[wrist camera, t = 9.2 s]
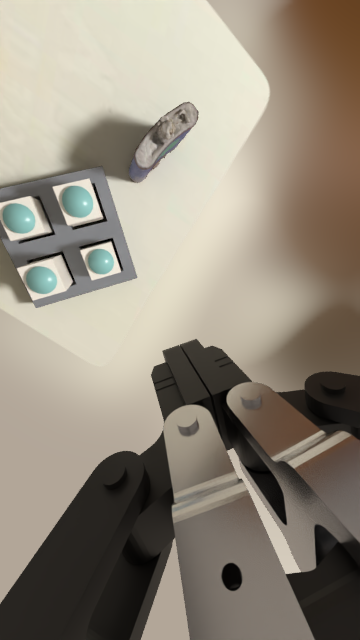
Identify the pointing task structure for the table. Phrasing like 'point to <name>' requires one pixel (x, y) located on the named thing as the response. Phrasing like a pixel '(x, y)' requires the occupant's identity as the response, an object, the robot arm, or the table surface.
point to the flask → (162, 140)
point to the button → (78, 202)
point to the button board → (69, 234)
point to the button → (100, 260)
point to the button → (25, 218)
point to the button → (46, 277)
